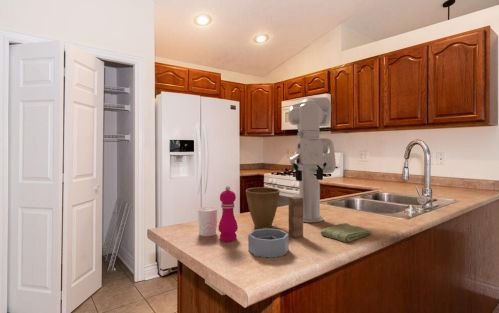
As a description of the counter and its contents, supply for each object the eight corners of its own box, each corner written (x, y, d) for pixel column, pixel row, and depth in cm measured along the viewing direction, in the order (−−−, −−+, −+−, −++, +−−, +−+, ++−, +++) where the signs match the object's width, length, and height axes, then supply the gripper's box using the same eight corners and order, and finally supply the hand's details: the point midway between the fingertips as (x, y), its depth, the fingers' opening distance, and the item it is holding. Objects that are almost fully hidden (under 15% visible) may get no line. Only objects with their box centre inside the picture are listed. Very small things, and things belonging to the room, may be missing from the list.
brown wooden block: (288, 235, 111) (288, 197, 110) (297, 233, 112) (297, 196, 112) (294, 238, 107) (294, 198, 107) (303, 236, 109) (303, 197, 108)
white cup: (198, 237, 109) (198, 211, 108) (196, 231, 116) (196, 207, 116) (219, 235, 111) (218, 210, 110) (216, 230, 118) (215, 206, 118)
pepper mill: (227, 235, 112) (227, 184, 111) (241, 238, 107) (241, 186, 106) (214, 239, 106) (213, 186, 105) (228, 243, 101) (227, 188, 101)
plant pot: (240, 224, 127) (240, 188, 127) (268, 220, 134) (268, 186, 134) (256, 232, 114) (255, 193, 114) (286, 227, 121) (286, 190, 120)
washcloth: (373, 235, 111) (373, 227, 111) (347, 245, 100) (347, 236, 100) (344, 228, 122) (344, 220, 121) (317, 236, 111) (317, 227, 111)
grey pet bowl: (244, 247, 98) (243, 231, 97) (275, 242, 103) (275, 227, 103) (260, 260, 86) (260, 242, 86) (294, 253, 91) (294, 236, 91)
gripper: (295, 135, 102) (295, 182, 102) (333, 135, 109) (333, 180, 109) (284, 136, 109) (285, 180, 109) (321, 136, 116) (321, 178, 116)
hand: (309, 180), depth 109 cm, fingers open, 9 cm apart
